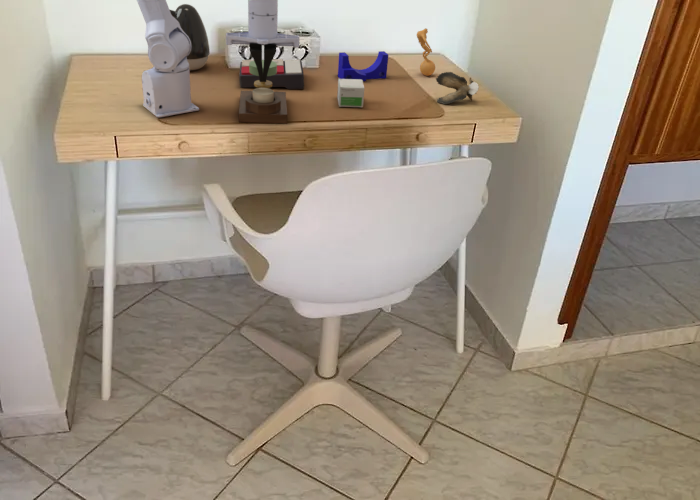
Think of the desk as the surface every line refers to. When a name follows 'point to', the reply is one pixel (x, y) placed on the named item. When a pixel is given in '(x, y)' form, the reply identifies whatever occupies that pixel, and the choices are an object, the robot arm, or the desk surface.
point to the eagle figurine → (456, 87)
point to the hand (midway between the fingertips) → (262, 80)
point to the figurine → (427, 65)
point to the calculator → (285, 77)
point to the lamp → (271, 72)
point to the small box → (350, 93)
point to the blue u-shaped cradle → (372, 72)
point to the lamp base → (262, 109)
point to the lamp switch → (263, 95)
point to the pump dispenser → (193, 35)
